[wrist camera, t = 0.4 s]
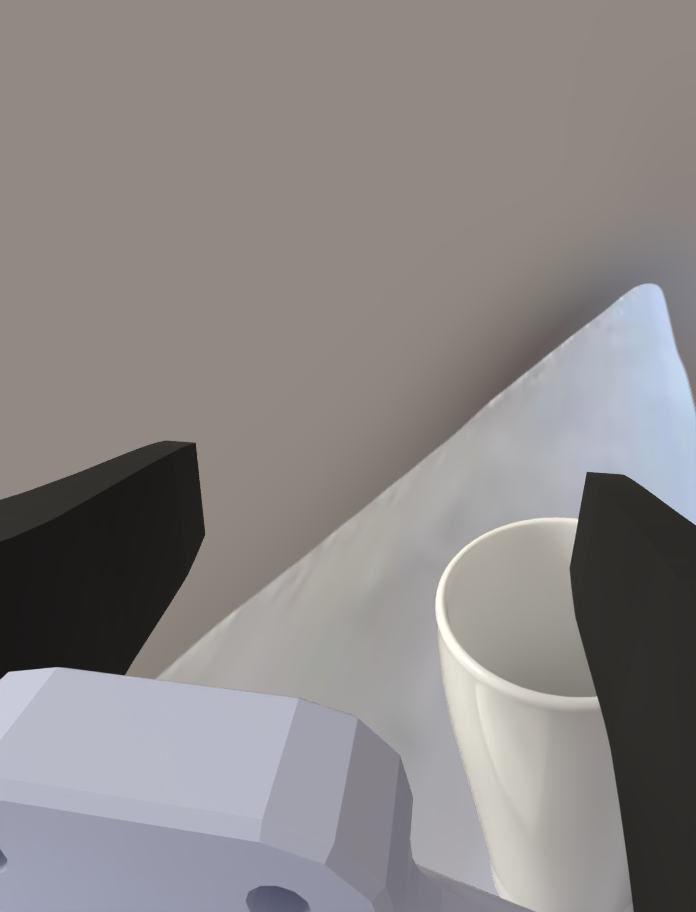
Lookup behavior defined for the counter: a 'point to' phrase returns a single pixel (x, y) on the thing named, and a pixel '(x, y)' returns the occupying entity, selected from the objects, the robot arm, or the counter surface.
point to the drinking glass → (531, 721)
